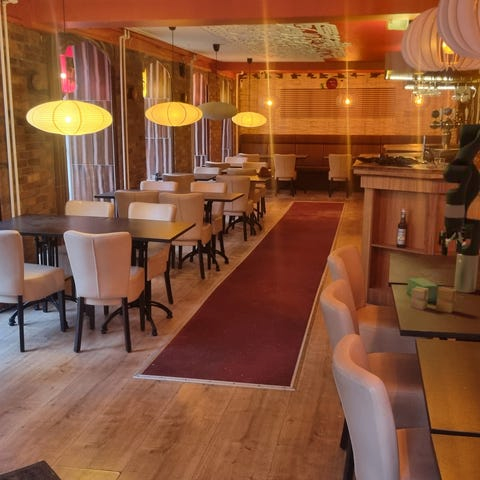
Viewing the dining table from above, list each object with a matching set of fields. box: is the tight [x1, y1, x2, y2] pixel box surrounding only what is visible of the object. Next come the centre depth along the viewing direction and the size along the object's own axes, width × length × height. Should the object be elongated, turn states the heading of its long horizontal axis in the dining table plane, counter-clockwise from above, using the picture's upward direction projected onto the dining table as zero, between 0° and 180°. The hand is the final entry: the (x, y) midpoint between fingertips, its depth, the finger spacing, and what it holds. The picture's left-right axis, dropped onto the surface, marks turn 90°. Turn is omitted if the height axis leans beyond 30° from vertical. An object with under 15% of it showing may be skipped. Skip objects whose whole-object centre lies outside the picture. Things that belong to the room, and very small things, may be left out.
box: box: [406, 277, 440, 303], centre depth 266 cm, size 7×14×8 cm, turn 16°
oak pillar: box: [435, 286, 457, 314], centre depth 249 cm, size 4×6×9 cm
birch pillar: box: [410, 287, 429, 311], centre depth 253 cm, size 5×5×8 cm
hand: (451, 254), depth 248 cm, fingers open, 8 cm apart
